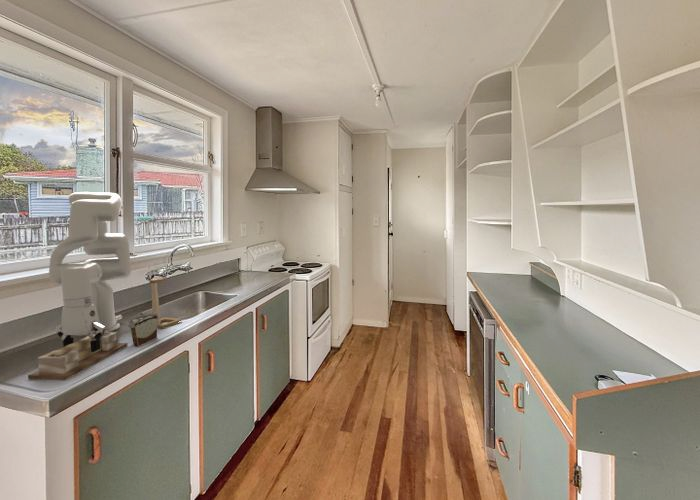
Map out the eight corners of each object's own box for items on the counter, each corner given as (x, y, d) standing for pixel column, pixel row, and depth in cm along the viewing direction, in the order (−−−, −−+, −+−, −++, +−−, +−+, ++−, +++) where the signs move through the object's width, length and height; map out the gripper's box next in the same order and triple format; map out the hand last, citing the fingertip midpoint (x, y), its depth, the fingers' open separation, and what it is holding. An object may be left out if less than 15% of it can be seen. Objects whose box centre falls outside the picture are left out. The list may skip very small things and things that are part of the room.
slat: (100, 346, 122) (99, 331, 122) (106, 347, 122) (105, 331, 121) (55, 369, 104) (53, 351, 104) (62, 369, 104) (60, 351, 104)
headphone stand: (182, 321, 155) (179, 276, 153) (164, 329, 144) (161, 280, 142) (163, 320, 157) (161, 275, 155) (144, 327, 147) (141, 279, 144)
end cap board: (97, 345, 126) (95, 330, 126) (127, 346, 126) (125, 330, 125) (28, 378, 101) (26, 359, 100) (65, 379, 100) (63, 360, 99)
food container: (147, 335, 137) (145, 312, 136) (159, 336, 136) (158, 313, 135) (121, 347, 125) (119, 321, 124) (134, 348, 124) (133, 323, 123)
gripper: (111, 299, 114) (114, 346, 116) (63, 299, 115) (68, 345, 117) (93, 305, 107) (97, 355, 109) (43, 304, 108) (48, 354, 110)
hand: (82, 350), depth 113 cm, fingers open, 9 cm apart
